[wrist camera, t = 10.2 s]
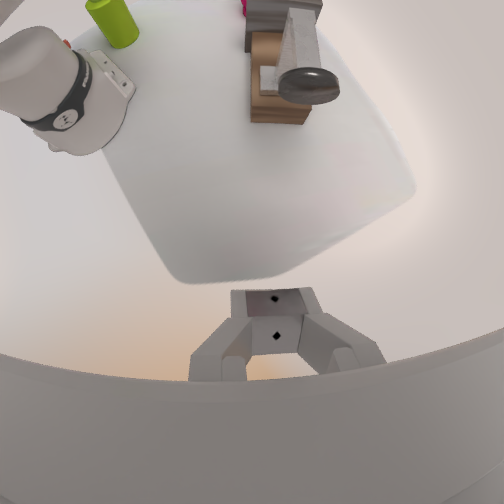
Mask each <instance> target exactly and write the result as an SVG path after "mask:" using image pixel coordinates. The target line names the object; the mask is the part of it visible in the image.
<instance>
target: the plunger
mask: <svg viewBox="0 0 504 504" xmlns="http://www.w3.org/2000/svg"><path fill="white" fill-rule="evenodd" d="M315 23H316V16H315V11H313V10H306V9H298V8H289V11H288V15H287V19H286V24H285V28H284V32H283V36H282V41H281V45H280V50H279V54H278V58H277V63H276V66H260V95H273V96H280V97H281V98H282V99H284V100H286V101H288V102H291V103H295V104H301V105H318V104H323V103H327V102H330V101H332V100H334V99H336V98H337V97H338V96H339V94H340V89H339V81H338V78H337V77H336V76H335V75H334V74H333V73H331V72H330V71H327V70H325V69H321V63H320V55H319V48H318V41H317V35H316V28H315Z"/></svg>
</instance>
